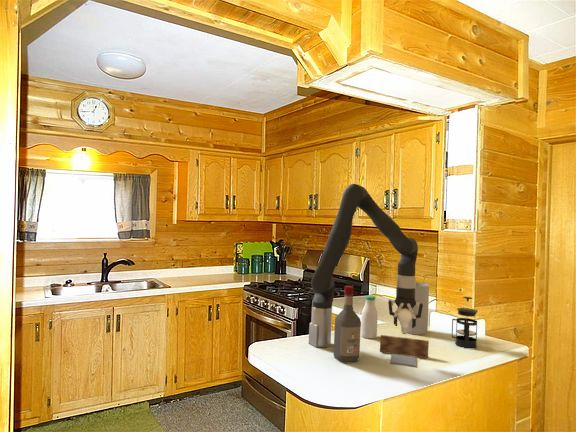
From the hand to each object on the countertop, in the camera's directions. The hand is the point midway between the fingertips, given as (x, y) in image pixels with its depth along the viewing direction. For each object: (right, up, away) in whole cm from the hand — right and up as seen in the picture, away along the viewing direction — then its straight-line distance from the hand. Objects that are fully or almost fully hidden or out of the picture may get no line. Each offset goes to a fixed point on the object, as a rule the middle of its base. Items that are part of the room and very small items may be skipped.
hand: (404, 326), depth 166 cm
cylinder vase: (+18, -15, +44) cm, 50 cm away
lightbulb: (0, -3, 0) cm, 3 cm away
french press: (+36, -16, +24) cm, 46 cm away
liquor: (-24, -14, 0) cm, 28 cm away
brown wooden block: (+2, -14, +8) cm, 17 cm away
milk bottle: (-8, -14, +32) cm, 36 cm away
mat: (-1, -14, 0) cm, 14 cm away
